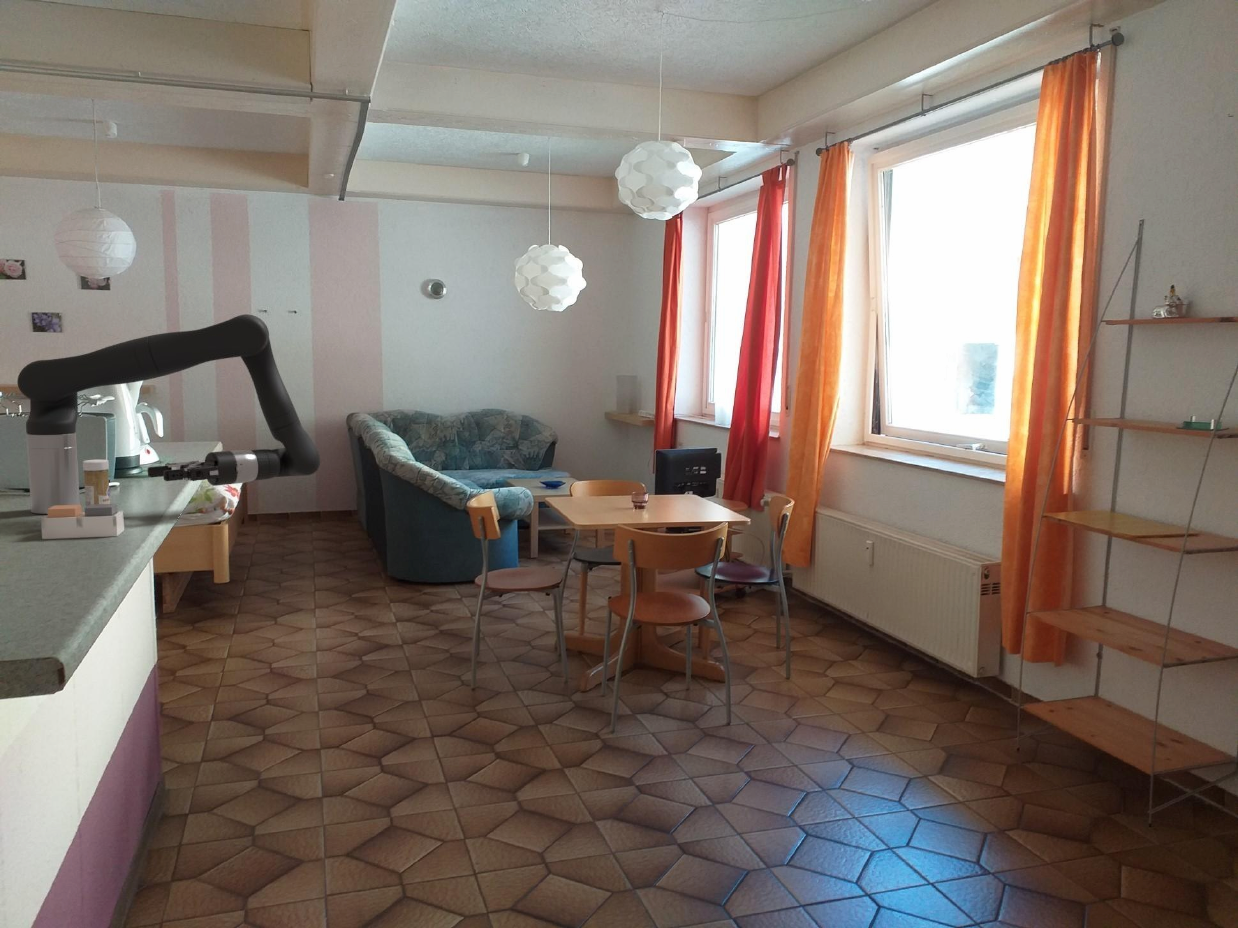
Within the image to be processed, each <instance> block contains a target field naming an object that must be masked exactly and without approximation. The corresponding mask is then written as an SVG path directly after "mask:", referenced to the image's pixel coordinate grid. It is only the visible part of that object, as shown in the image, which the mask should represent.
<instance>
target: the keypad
mask: <svg viewBox="0 0 1238 928" xmlns="http://www.w3.org/2000/svg"><path fill="white" fill-rule="evenodd" d="M124 516H125V515H124V510H117V513H116V514H115V515H114V516H92V517H85V511H82V514H81V515H79V516H78V517H61V518H48V514H47V515H44V516H43V517H41V518H40V521H41V522H40V523H41V539H42V540H51V539H52V540H54V539H77V538H78V539H79V538H80V539H81V538H101V537H104V538H106V537H118V536H119V535H120V534H121V533H123V532H124V531H125V520H124V519H125V517H124Z"/></svg>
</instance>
